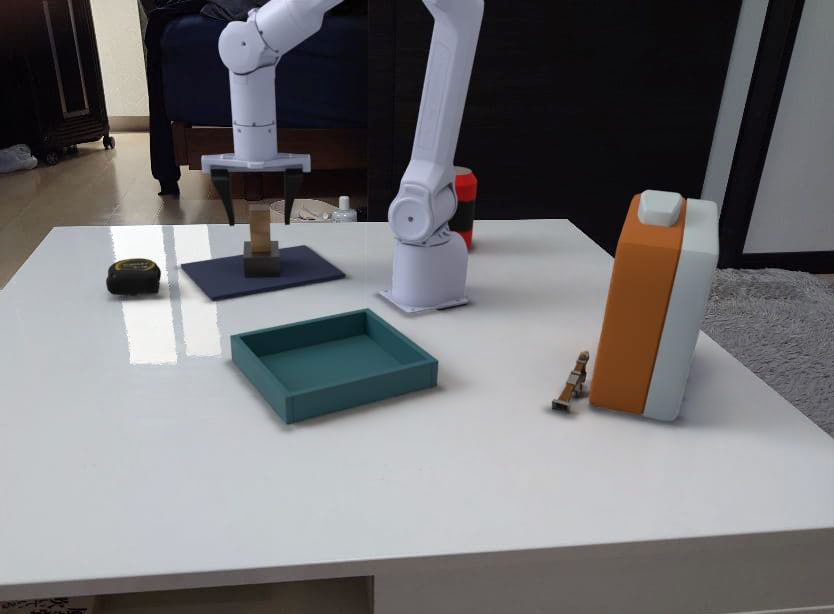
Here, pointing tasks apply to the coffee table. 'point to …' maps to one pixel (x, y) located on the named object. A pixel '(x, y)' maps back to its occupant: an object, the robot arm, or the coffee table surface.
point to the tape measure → (133, 277)
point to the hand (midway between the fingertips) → (259, 223)
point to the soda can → (464, 204)
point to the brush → (260, 246)
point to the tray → (331, 364)
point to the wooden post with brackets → (573, 383)
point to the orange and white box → (655, 304)
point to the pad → (229, 280)
